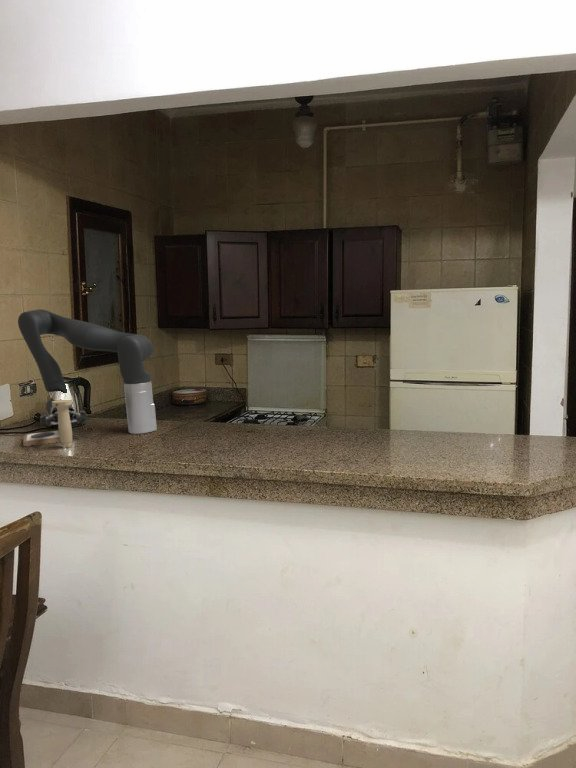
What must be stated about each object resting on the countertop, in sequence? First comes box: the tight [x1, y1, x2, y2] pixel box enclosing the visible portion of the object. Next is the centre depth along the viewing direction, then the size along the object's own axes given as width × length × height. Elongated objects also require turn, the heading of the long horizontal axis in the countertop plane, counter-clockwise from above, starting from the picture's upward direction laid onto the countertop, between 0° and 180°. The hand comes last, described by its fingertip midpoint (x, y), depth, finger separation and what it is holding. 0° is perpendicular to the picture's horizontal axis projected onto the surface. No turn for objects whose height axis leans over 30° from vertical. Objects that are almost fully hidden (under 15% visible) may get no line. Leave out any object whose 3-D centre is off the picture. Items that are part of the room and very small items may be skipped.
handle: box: [52, 400, 73, 449], centre depth 189 cm, size 5×6×15 cm
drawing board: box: [22, 429, 61, 447], centre depth 201 cm, size 12×12×2 cm
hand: (64, 421), depth 190 cm, fingers open, 8 cm apart
